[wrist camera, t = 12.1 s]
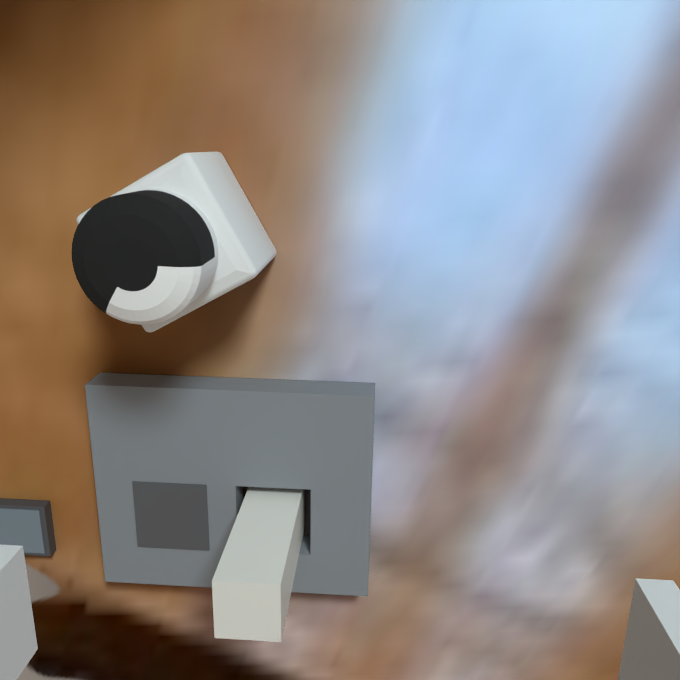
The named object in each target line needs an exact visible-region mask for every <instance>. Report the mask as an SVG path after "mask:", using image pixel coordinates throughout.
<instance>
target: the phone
mask: <svg viewBox="0 0 680 680" xmlns="http://www.w3.org/2000/svg"><path fill="white" fill-rule="evenodd" d="M0 545H18V546H23V550H24V555H34V556H51V555H52V554H53V553H54V552H55V550H56V545H55V537H54V529H53V522H52V514H51V506H50V501H43V500H23V499H3V498H0Z"/></svg>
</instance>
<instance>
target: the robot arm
mask: <svg viewBox="0 0 680 680" xmlns="http://www.w3.org/2000/svg"><path fill="white" fill-rule="evenodd" d="M37 649H38V647H37V641H36V634H35V627H34V620H33V613H32V606H31V599H30V592H29V585H28V578H27V571H26V564H25V557H24V550H23V546H18V545H0V680H17V678H18V677H19V675H20V674H21V672H22V671H23V670H24V668H25V667H26V665H27V664H28V662H29V661H30V659H31V658H32V656H33V655H34V654H35V652H36V651H37ZM618 680H680V590H679V588H678V587H677V585H676V584H675V582H674V581H672V580H653V579H635V584H634V590H633V596H632V602H631V607H630V613H629V619H628V625H627V630H626V636H625V642H624V648H623V653H622V659H621V665H620V671H619V676H618Z"/></svg>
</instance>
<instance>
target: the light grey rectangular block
mask: <svg viewBox="0 0 680 680" xmlns="http://www.w3.org/2000/svg"><path fill="white" fill-rule="evenodd" d="M304 528H305V489H287V488H265V487H248V490H247V492H246V495H245V497H244V500H243V502H242V505H241V508H240V510H239V513H238V515H237V518H236V520H235V523H234V525H233V528H232V531H231V533H230V536H229V538H228V541H227V543H226V546H225V548H224V551H223V554H222V556H221V559H220V561H219V564H218V566H217V569H216V571H215V574H214V577H213V579H212V596H213V617H214V637H215V638H223V639H240V640H257V641H273V642H281V640H282V636H283V631H284V626H285V621H286V616H287V611H288V606H289V601H290V596H291V591H292V587H293V582H294V577H295V572H296V567H297V562H298V557H299V552H300V547H301V543H302V538H303V533H304Z"/></svg>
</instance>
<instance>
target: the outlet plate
mask: <svg viewBox="0 0 680 680" xmlns="http://www.w3.org/2000/svg"><path fill="white" fill-rule="evenodd" d="M85 390H86V400H87V410H88V419H89V429H90V439H91V448H92V458H93V468H94V477H95V487H96V497H97V506H98V516H99V526H100V535H101V545H102V555H103V564H104V574H105V582H121V583H139V584H157V585H174V586H192V587H210V588H212V579H213V577H214V574H215V571H216V569H217V566H218V564H219V561H220V559H221V556H222V554H223V551H224V548H225V546H226V543H227V541H228V538H229V536H230V533H231V531H232V528H233V525H234V523H235V520H236V518H237V515H238V513H239V510H240V508H241V505H242V502H243V500H244V495H243V486H244V487H265V488H287V489H308V490H311V535H303V538H302V543H301V547H300V552H299V557H298V562H297V567H296V572H295V577H294V582H293V587H292V591H291V592H298V593H316V594H334V595H352V596H368V575H369V546H370V517H371V488H372V459H373V429H374V400H375V383H359V382H333V381H306V380H280V379H253V378H227V377H201V376H174V375H148V374H121V373H99V374H98V375H97V376H95V377H94V378H93V379H92V380H90V381H89V382H88V383H87V384H85Z"/></svg>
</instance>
